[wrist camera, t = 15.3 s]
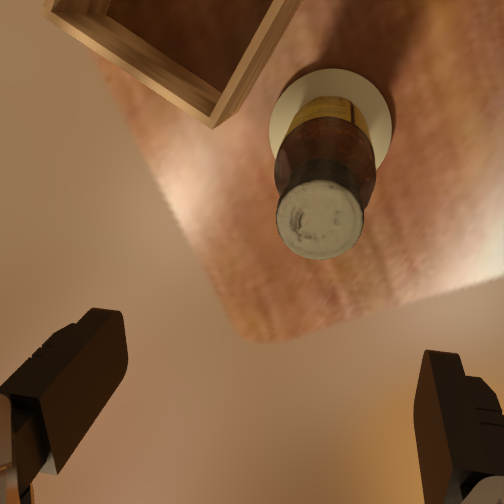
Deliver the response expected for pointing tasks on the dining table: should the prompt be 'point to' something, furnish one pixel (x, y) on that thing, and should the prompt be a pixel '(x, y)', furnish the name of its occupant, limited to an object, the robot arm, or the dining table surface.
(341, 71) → the saucer
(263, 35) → the caddy
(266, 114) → the dining table surface
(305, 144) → the sauce bottle
